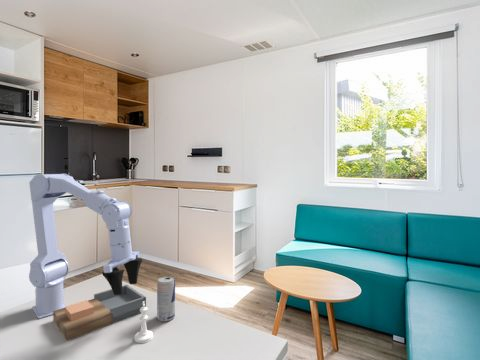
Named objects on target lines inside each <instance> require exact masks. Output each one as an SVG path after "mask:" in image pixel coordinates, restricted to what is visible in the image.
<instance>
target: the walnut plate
mask: <svg viewBox="0 0 480 360" xmlns="http://www.w3.org/2000/svg"><path fill="white" fill-rule="evenodd" d="M87 301H88V302H89V303H90V304H91V305H92V306H93V307H94V314H91V315H88V316H85V317H82V318H79V319H76V320H73V321H70V319H69V318H68V317H67V316H66V314H65V308H62V309H58V310H55V311H53V314H52V316H53V319H52V320H53V322H54V324H55V326H56V327H57V328H58V330H59V331H60V332H61V333H62V335H63V336H64V338H65V340H66V341H67V342H68V341H71V340H73V339H75V338H78V337H81V336H83V335H86V334H89V333H91V332H93V331H97V330H99V329H102V328H105V327H107V326H110V325H113V324H114V323H111V322H113V319H111V318H113V316H112V315H113V314H112V315H111V313H110V310H108V309H107V308H106V307H105V306H104V305H103V304H102V303H101V302H99V301H98V300H97V299H94V298H91V299H88V300H87ZM111 316H112V317H111ZM111 320H112V321H111Z"/></svg>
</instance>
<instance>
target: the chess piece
mask: <svg viewBox="0 0 480 360" xmlns="http://www.w3.org/2000/svg"><path fill="white" fill-rule="evenodd" d="M142 305H143V307H142V308H140V312H141V313H140V316H139V320H141V327H140V331H137V332H136V334H134V338H133V341H134V342H135V343H137V344H145V343H148V342H150V341H151V340H152V339H153V338H154V332H153V331H152V330H148V327H147V321H146V320H147V319H148V318H149V315H147V312H148V307H147V306H146V307H145V301H143V303H142Z"/></svg>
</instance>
